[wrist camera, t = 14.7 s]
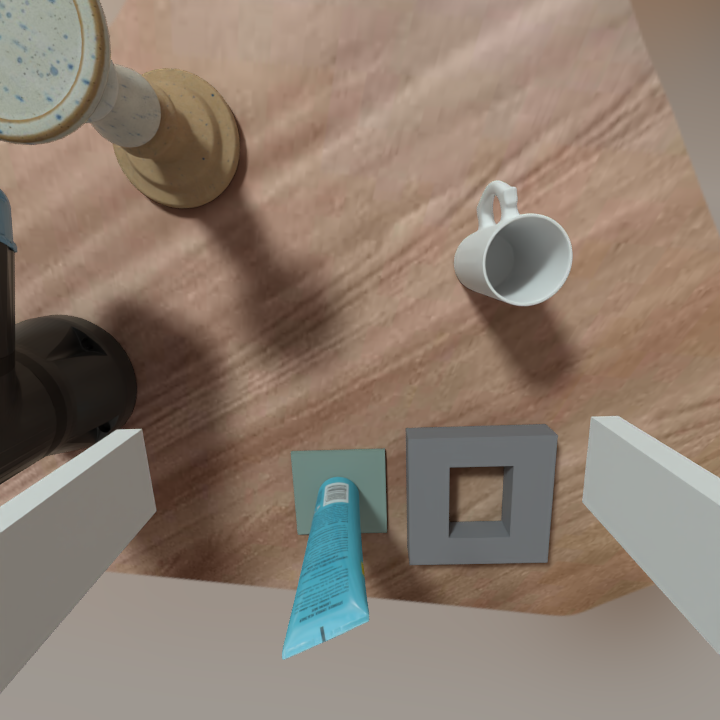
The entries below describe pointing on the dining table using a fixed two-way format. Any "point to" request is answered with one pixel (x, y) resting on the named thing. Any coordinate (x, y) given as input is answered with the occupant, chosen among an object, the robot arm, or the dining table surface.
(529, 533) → the socket board
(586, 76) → the dining table surface
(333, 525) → the tube
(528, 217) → the mug
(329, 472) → the coaster
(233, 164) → the candle holder
